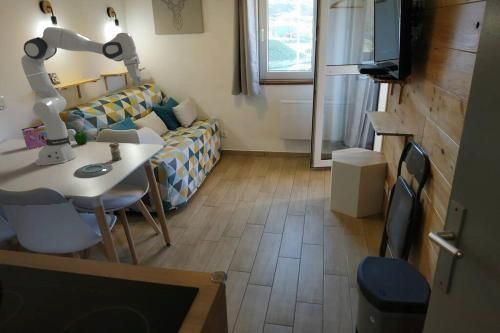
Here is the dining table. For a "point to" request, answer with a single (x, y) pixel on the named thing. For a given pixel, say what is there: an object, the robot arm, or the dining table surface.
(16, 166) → the dining table surface
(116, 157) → the bead spool
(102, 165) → the grey plate
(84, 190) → the dining table surface
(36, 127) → the gum box
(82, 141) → the green shrub
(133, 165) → the dining table surface
